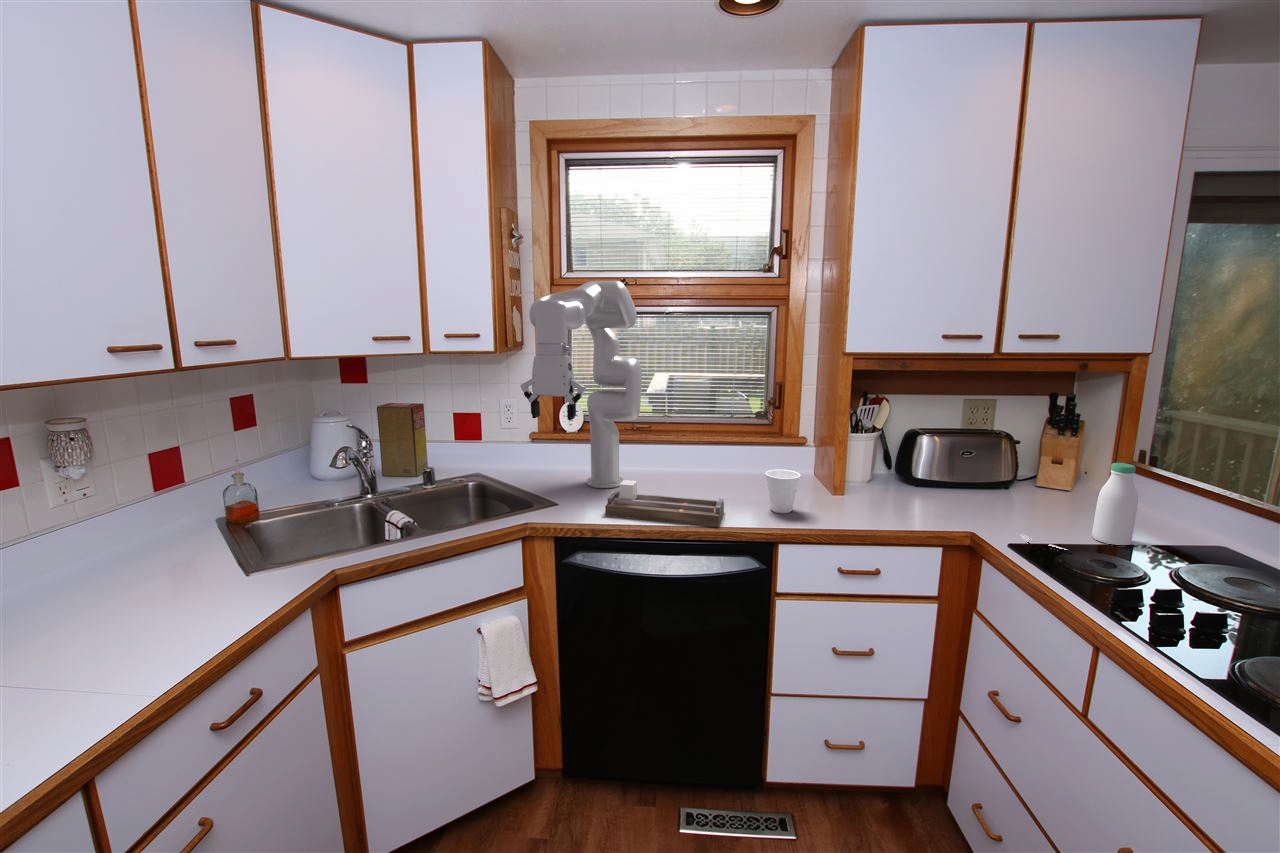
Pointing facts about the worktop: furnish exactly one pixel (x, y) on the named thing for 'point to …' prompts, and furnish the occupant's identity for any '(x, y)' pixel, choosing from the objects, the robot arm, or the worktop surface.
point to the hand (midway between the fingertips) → (553, 418)
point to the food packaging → (402, 439)
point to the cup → (782, 489)
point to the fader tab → (628, 490)
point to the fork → (1031, 539)
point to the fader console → (666, 509)
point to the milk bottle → (1116, 507)
